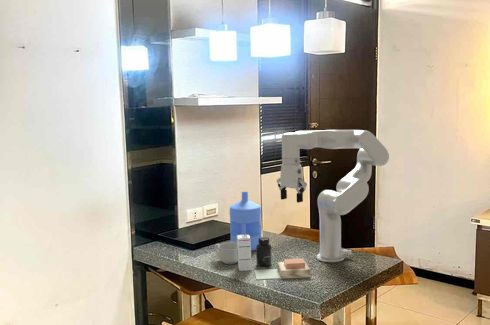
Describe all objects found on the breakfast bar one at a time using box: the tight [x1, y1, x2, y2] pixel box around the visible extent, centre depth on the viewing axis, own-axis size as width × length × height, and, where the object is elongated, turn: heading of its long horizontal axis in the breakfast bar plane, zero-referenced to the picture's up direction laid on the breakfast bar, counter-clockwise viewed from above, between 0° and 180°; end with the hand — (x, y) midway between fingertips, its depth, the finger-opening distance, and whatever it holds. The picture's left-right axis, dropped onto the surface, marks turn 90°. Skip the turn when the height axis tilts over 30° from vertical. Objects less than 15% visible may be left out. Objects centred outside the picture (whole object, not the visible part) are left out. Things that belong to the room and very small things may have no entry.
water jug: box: [229, 191, 262, 252], centre depth 246 cm, size 16×16×28 cm
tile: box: [283, 257, 306, 268], centre depth 208 cm, size 8×6×2 cm
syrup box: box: [237, 235, 253, 272], centre depth 215 cm, size 6×6×14 cm
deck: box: [277, 260, 311, 279], centre depth 208 cm, size 12×11×3 cm
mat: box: [253, 268, 311, 281], centre depth 208 cm, size 22×11×1 cm, turn 94°
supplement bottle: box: [255, 236, 273, 268], centre depth 220 cm, size 7×7×12 cm
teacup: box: [213, 241, 238, 265], centre depth 226 cm, size 14×11×8 cm
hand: (291, 200), depth 215 cm, fingers open, 9 cm apart
